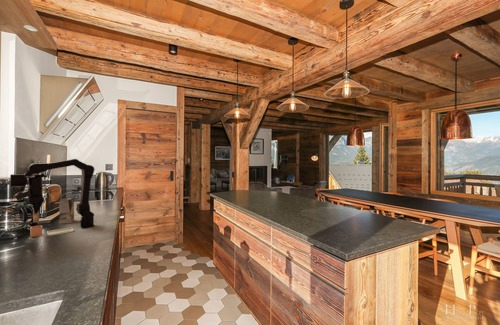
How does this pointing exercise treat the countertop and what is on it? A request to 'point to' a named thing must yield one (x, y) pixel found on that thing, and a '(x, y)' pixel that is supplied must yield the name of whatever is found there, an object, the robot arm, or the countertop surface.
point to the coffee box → (66, 210)
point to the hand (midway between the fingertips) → (36, 213)
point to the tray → (60, 231)
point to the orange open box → (36, 231)
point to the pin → (35, 217)
